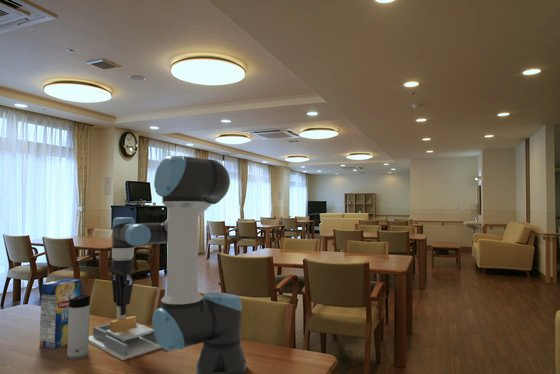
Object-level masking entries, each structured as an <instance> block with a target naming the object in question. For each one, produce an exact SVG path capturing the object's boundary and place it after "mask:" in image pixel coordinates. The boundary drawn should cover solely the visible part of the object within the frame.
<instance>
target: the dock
mask: <svg viewBox="0 0 560 374" xmlns="http://www.w3.org/2000/svg"><path fill="white" fill-rule="evenodd" d="M106 330H110V323H106V324H102V325H96V326H94V327H93V329H92V332H93V333H92V335H89V344H90V345H93V346H95V347H97V348H99V349H101V350H103V351H104V352H106V353H108V354H109V355H112V356H113V357H116V358H117V359H119V360H121V361H124V360H127V359H130V358H134V357H137V356H141V355H145V354H146V353H149V352H152V351H157V350H159V349H163V348H162V347H161V346H160V344H159V343H158V341H157V339H156V337H155V334H154V333H150V334H146V335H143V336H139V337H136V338H132V339H129V340H125V341H122V340H120V339H118V338H116V337H113V336H111V335H109V334H107V333H106Z"/></svg>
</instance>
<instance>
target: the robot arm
mask: <svg viewBox="0 0 560 374" xmlns="http://www.w3.org/2000/svg"><path fill="white" fill-rule="evenodd" d="M230 178H231V177H230V174H229V172H228V170H227V168H226V167H225V165H223V164H222V163H221V162H219V161H218V160H215V159H212V158H202V157H201V158H200V157H192V156H185V155H169V156H166V157H164V158H163V159H162V160H161V161H160V163H159V164H158V166H157V168H156V171H155V174H154V182H153V185H154V186H153V187H154V189H155V190H154V191H155V193H156V194H157V196H159V197H161V199H162V201H161V203H162V204H163V206H165V207H166V209H167V218H166V220H165V221H163V222H155V223H150V222H149V223H136V221H135V218H133V217H131V216H130V217H129V216H128V217H126V216H125V217H114V219H113V221H112V242H111V243H112V247H111V258H112V260H111V270H112V271H114V275H112V276H110V280H111V285H112V287H111V288H112V296H113V298H112V299H113V303H115V305H116V320H117V319H122V318H126V317H127V306H128V305H130V304H131V298H132V291H133V285H134V283H135V279H134V278H133V279H132V278H131V270H133V269H134V263H135V261H134V259H133V258H134V257H135V255H134V252H135V247H137V246H139V247H141V246H144V245H155V244H166V245H167V247H166V248H167V250H166V253H167V254H166V255H167V256H166V258H167V259H166V264H167V265H166V266H167V267H166V293H165V295H163V297H162V298H161V299H160V307H158V308H156V309H155V311H154V312H153V314H152V322H151V323H152V329H153V330H154V334H155V337H156V339H157V341H158V343H159V344H160V346H161V347H162V348H161V349H163V350H164V351H169V352H170V351H177V350H183V349H185V348H189V347H191V346H195V345H199V344H202V347H201V351H200V354H199V358H198V360H197V362H196V366H195V367H196V370H195V371H196V374H245V373H246V372H245V371H247V360H246V358H245V353H244V350H243V347H242V312H243V309H242V299H241V298H240V297H239V296H238V295H236V294H233V293H226V292H215V291H214V292H206V293H204V295H202V294H201V293H200V292H199V290H198V288H199V284H198V283H199V281H198V280H199V217H200V216H201V215H202V214H204V212H205V211H206V210H208V209H209V208H210V207H211V205H216V204H218V203H220V202H221V200H222V199H223V198H225V196H226V194H228V192H229V189H230V185H231V184H230V183H231V179H230Z"/></svg>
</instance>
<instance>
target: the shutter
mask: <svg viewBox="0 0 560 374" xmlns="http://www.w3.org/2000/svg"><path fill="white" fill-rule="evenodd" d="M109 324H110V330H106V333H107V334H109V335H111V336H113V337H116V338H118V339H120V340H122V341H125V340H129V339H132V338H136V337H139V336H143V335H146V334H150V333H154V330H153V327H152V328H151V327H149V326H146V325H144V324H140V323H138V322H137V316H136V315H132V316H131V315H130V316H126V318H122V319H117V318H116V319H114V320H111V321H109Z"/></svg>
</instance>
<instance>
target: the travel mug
mask: <svg viewBox="0 0 560 374" xmlns="http://www.w3.org/2000/svg"><path fill="white" fill-rule="evenodd" d="M90 301H91V295H89V294H87V295H81V296H77V297H74V298H72V299H71V298H70V299H69V316H68V344H66V345H67V349H66V359H67V360H69V361H70V360H71V361H76V360H82V359H84V358H87V356H88V355H89V344H90V343H89V336H90V314H91V313H90V312H91V311H90V310H91V306H90V305H91V303H90Z"/></svg>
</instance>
